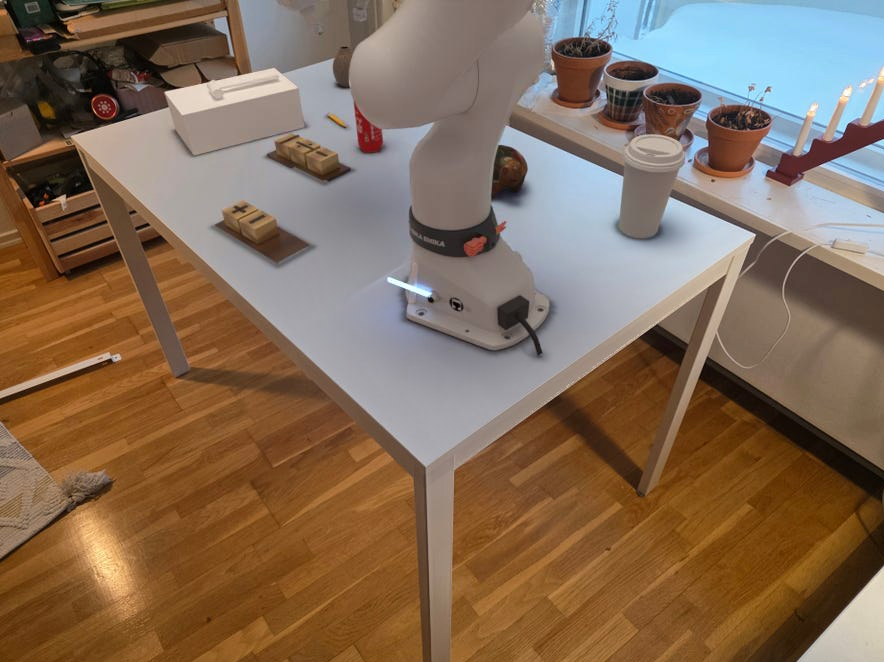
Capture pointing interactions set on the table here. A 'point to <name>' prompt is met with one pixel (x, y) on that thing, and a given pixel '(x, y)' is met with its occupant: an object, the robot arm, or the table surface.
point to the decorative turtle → (508, 170)
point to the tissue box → (235, 110)
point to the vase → (342, 65)
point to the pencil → (336, 119)
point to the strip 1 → (271, 245)
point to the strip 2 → (309, 159)
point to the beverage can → (367, 133)
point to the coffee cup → (648, 182)
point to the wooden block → (302, 151)
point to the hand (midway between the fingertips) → (339, 27)
